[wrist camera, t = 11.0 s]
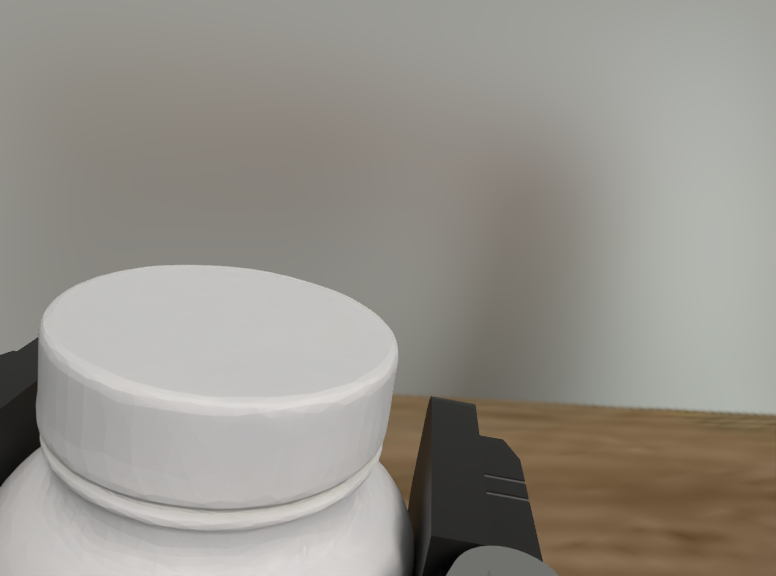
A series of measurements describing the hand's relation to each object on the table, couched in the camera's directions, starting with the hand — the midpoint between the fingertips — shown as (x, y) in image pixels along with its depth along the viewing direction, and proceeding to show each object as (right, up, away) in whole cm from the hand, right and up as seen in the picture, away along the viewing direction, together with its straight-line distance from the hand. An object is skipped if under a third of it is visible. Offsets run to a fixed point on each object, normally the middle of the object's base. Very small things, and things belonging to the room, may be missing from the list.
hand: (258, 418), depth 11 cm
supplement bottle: (-1, -8, 0) cm, 8 cm away
